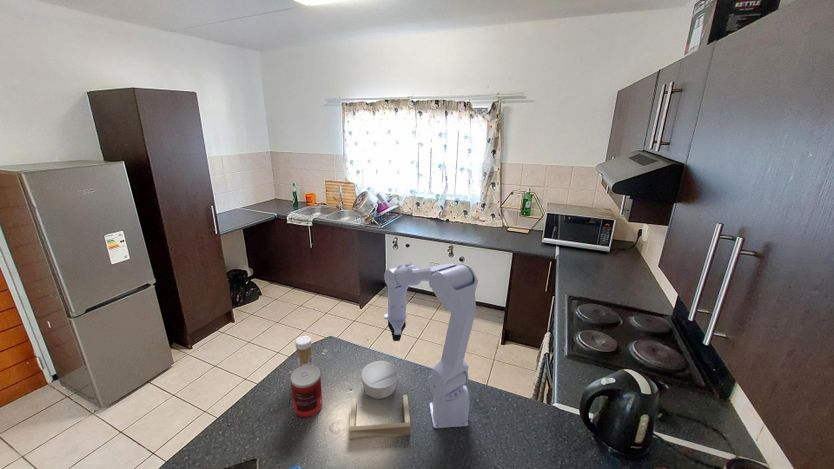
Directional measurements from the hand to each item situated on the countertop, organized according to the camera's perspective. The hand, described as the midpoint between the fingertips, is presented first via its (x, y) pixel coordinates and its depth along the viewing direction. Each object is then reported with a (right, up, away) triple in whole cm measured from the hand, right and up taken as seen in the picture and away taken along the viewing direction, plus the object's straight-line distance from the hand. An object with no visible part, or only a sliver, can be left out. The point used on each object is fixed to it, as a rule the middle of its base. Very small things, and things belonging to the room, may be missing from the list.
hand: (396, 339), depth 104 cm
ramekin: (-5, -12, -7) cm, 15 cm away
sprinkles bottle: (-28, -10, -3) cm, 30 cm away
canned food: (-24, -14, -14) cm, 31 cm away
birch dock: (-3, -16, -17) cm, 24 cm away
